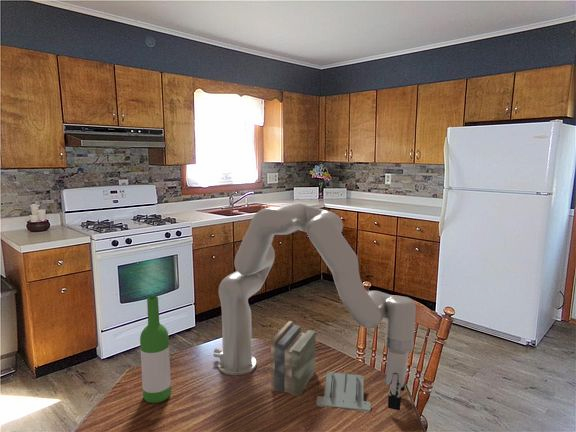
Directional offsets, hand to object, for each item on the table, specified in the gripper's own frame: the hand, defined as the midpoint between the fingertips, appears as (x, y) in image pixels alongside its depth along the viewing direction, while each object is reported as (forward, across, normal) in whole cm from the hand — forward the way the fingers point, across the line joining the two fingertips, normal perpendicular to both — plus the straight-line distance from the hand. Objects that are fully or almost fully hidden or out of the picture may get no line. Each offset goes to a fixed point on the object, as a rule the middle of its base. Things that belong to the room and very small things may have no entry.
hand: (396, 398), depth 114 cm
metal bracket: (+2, +1, -15) cm, 15 cm away
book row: (+2, 0, -30) cm, 31 cm away
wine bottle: (+2, +23, -64) cm, 69 cm away
